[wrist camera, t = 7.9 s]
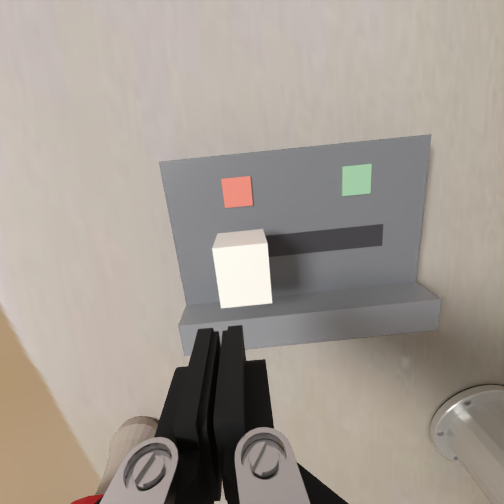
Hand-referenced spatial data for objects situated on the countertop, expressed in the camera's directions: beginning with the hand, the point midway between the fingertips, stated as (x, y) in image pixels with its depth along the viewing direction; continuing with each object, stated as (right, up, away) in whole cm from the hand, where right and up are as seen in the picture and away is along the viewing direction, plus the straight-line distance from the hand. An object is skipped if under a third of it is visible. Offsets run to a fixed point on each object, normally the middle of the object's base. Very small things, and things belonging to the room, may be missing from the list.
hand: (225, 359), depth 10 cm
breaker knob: (0, +4, +14) cm, 14 cm away
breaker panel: (+5, +6, +17) cm, 18 cm away
